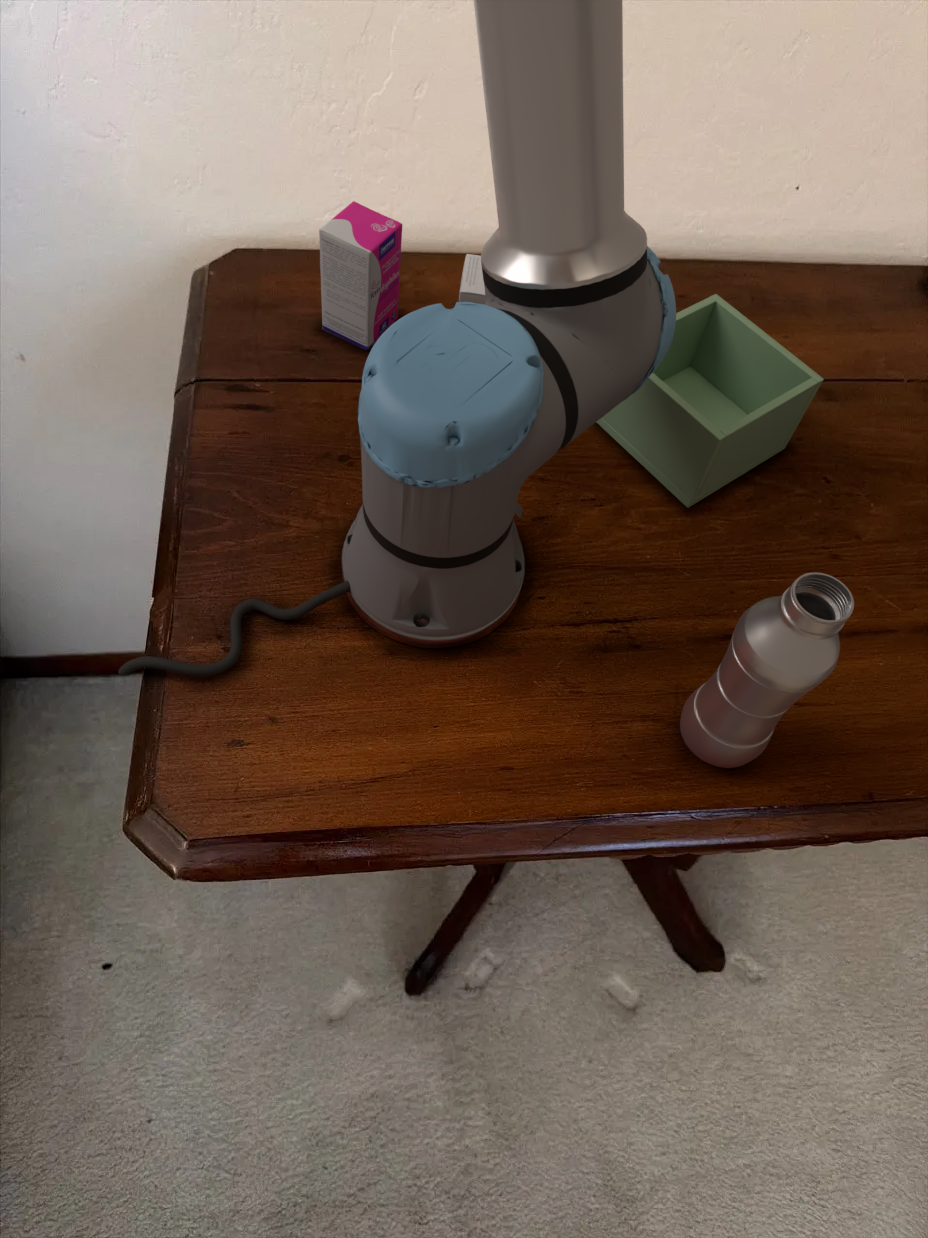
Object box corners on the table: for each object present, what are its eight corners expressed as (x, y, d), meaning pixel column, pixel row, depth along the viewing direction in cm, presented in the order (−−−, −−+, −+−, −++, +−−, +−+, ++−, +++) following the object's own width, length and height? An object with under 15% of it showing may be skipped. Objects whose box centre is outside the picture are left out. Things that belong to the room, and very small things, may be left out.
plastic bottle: (756, 785, 67) (884, 655, 50) (668, 766, 67) (765, 630, 50) (758, 711, 70) (878, 565, 53) (674, 692, 70) (767, 542, 54)
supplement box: (369, 353, 88) (369, 252, 79) (320, 329, 90) (314, 227, 80) (400, 321, 91) (403, 220, 81) (353, 299, 92) (350, 197, 83)
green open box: (687, 508, 81) (719, 439, 73) (590, 417, 86) (611, 344, 78) (784, 448, 86) (824, 378, 78) (687, 366, 91) (716, 293, 84)
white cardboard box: (459, 313, 93) (465, 251, 86) (516, 320, 93) (526, 259, 86) (453, 352, 89) (458, 291, 83) (512, 360, 89) (522, 299, 83)
